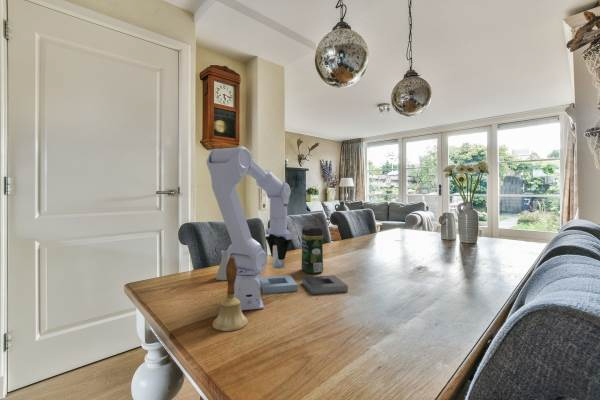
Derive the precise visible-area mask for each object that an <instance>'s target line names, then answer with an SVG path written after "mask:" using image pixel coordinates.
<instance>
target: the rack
mask: <svg viewBox="0 0 600 400" xmlns="http://www.w3.org/2000/svg"><path fill="white" fill-rule="evenodd" d="M298 287H299V285H298V283H297V282H296V281H295V280H294V278H293V277H292V276H291V274H290V275H273V276H271V275H270V276H260V289H261V290H262V293H263V294H274V293H275V294H276V293H288V292H298V291H299V290H298V289H299V288H298Z"/></svg>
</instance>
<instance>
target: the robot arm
mask: <svg viewBox="0 0 600 400" xmlns="http://www.w3.org/2000/svg"><path fill="white" fill-rule="evenodd" d="M205 164H206V166H207V168H208V172H209V174H210V178H211V179H210V181H211V188H212V192H213V193H214V196H215V200H216V202H217V204H218V208H219V211H220V213H221V216H222V219H223V222H224V224H225V227H226V231H227V234H228V235H229V238H230V241H231V244H229V246H228V247H227V249H226V250H227V252H228V256H229V257H235V262H236V265H237V276H236V279H235V284H234V290H235V291H234V292H235V293H234V297H235V298H236V299H239V300H240V306H241V311H249V310H250V311H251V310H258V309H259V310H260V309H261V310H262V309H264V308H265V306H264V302H263V300H262V298H261V286H260V277H261V273H263V271H264V270H265V268H266V266H267V264H268V263H267V262H268V256H267V253H266V251H265V250H264V249H263V247H262V245H261V243H259V242H258V241H257V240H256V239H254V238H253V237H252V234H251V231H250V228H249V225H248V222H247V219H246V215H245V213H244V212H245V211H244V210H243V206H242V203H241V200H240V197H239V194H238V190H237V185H238V184H239V183H241V181H242V180H243V178H244V177H245V176H246V174H247V175H249V176H250V177H251V178H254V180H255V182H256V185H257V186H258V187H259V188H261V189H262V190H263V191H264V192H265V194H266V197H267V198H268V199H269V228H265V235H268V236H265V237H264V238H265V241H266V242H267V244H268V248H269V251H270V255H271V258H273V244H276V246H277V253H278V260H283V259H286V255H287V251H288V249H289V246H290V244H291V243H292V240H293V239H294V238H293V234H294V233H293V232H290V230H289V229H288V227H287V226H288V204H289V203H290V197H291V191H292V190H291V187H290V185H289V184H288V183H287V182H286V181H281V180H280V179H279V178H278V177H277V176H276V175H275V174H273V171H272V170H271V169H270V170H269V169H268V170H264V169H263V168H262V167H261V166H260V165H259V164H258V163H257V162H256V161H255V160H254V159H253V153H252V152H251V151H250V150H249V149H248V148H247V147H245V146H243V145H242V146H241V145H240V146H237V147H227V148H225V147H224V148H213V149H212V150H211V151H210V153H209V154H208V157H207V159H206V162H205Z"/></svg>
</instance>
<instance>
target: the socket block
mask: <svg viewBox="0 0 600 400" xmlns="http://www.w3.org/2000/svg"><path fill="white" fill-rule="evenodd" d="M301 283H302V285H303V286H304V287H305V288H306V290H307V291H308V292H309V293H310V295H313V296H315V295H326V294H336V293H337V294H339V293H347V292H349V285H348V284H347V283H345V282H344V281H342V279H340V278H339V277H338V276H336V275H331V274H330V275H319V276H318V275H317V276H304V277H302V278H301Z"/></svg>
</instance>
